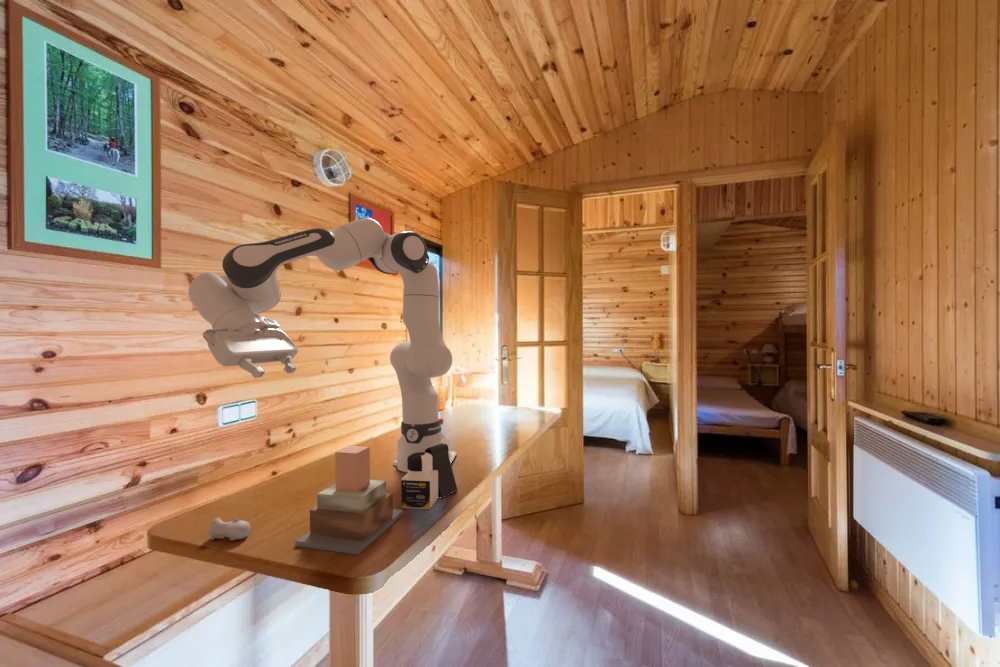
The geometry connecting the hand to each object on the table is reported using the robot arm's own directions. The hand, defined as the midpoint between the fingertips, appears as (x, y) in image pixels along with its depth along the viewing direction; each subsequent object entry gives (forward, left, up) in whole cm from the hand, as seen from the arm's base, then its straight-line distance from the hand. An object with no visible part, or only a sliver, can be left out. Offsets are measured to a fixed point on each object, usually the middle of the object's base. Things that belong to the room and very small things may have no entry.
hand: (277, 373), depth 95 cm
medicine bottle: (-16, +27, -33) cm, 46 cm away
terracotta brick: (0, +19, -24) cm, 30 cm away
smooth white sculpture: (+9, -4, -33) cm, 35 cm away
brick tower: (0, +19, -33) cm, 38 cm away
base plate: (0, +19, -33) cm, 38 cm away
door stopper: (-24, +28, -33) cm, 50 cm away
